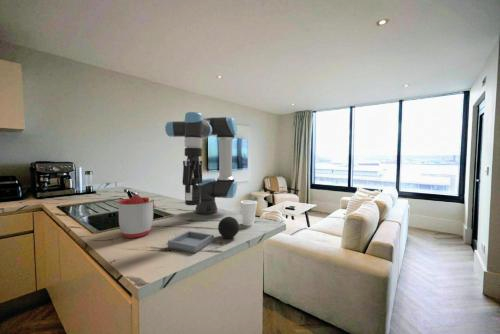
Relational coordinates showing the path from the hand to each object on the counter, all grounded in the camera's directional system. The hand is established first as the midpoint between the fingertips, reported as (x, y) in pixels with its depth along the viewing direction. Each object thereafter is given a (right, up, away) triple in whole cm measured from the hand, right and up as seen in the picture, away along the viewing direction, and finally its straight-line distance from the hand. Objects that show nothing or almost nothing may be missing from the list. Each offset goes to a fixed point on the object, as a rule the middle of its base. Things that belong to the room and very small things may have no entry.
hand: (192, 198), depth 98 cm
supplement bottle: (0, -3, 0) cm, 3 cm away
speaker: (+15, -20, +7) cm, 26 cm away
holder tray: (0, -20, -2) cm, 20 cm away
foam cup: (+25, -19, +28) cm, 42 cm away
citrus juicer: (-30, -19, +10) cm, 37 cm away
